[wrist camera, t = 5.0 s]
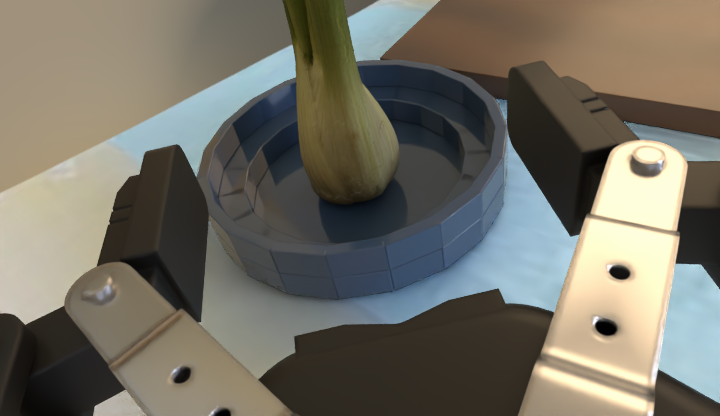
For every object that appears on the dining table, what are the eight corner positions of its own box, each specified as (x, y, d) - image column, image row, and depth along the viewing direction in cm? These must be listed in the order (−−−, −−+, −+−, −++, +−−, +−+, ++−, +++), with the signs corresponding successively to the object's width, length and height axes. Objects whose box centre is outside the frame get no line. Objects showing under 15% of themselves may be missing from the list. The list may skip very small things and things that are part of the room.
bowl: (326, 88, 37) (315, 45, 35) (549, 134, 29) (553, 82, 27) (162, 239, 28) (134, 195, 26) (415, 356, 21) (406, 307, 19)
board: (465, -5, 44) (464, -23, 43) (759, 20, 34) (767, -3, 33) (382, 77, 37) (379, 57, 36) (725, 139, 27) (734, 113, 26)
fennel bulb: (317, 153, 31) (254, -68, 23) (402, 143, 30) (368, -88, 22) (307, 225, 27) (226, -14, 19) (405, 215, 26) (365, -37, 18)
